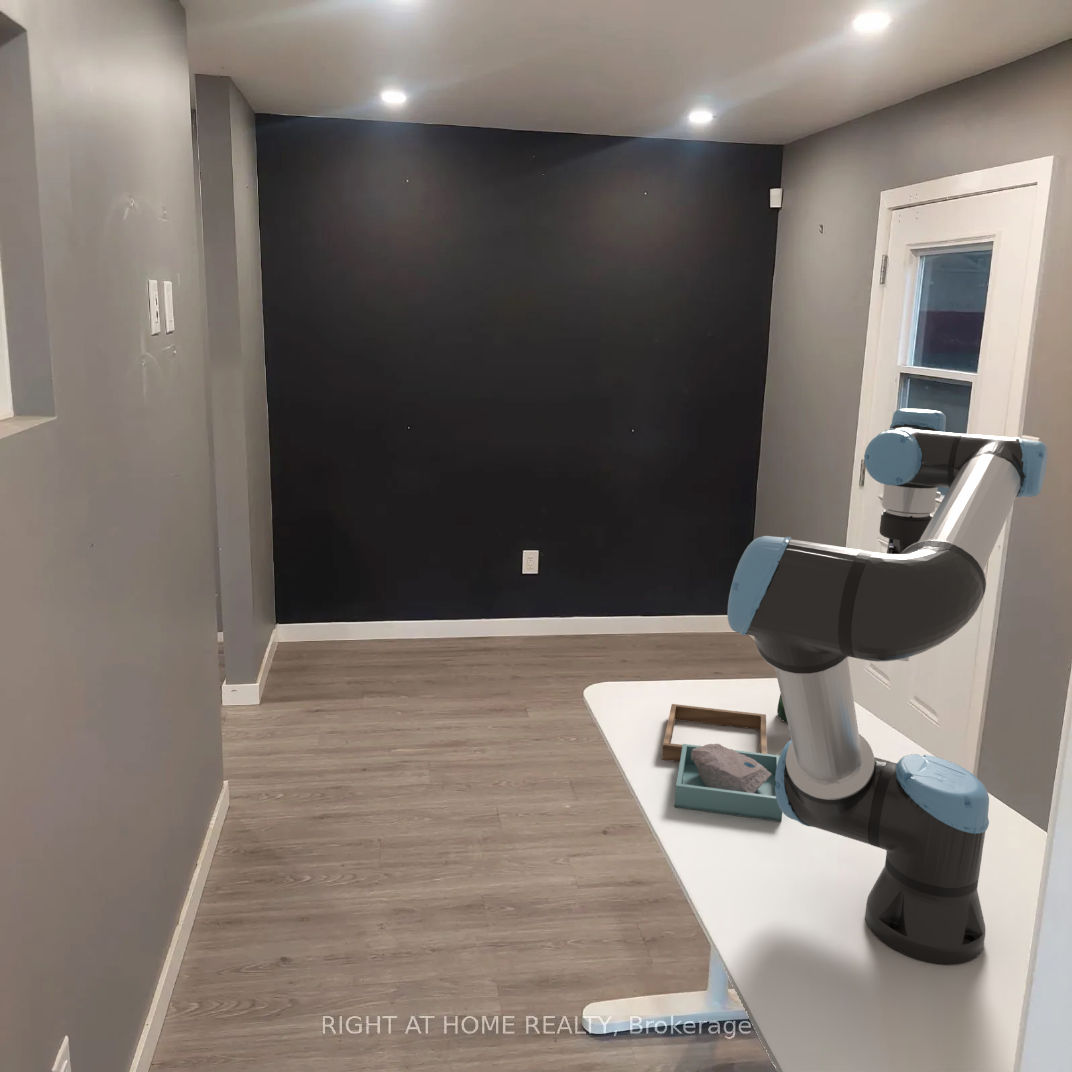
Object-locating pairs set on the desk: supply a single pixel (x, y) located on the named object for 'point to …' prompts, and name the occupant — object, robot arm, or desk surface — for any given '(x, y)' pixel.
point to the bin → (727, 801)
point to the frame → (710, 717)
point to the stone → (728, 769)
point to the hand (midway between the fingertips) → (892, 645)
